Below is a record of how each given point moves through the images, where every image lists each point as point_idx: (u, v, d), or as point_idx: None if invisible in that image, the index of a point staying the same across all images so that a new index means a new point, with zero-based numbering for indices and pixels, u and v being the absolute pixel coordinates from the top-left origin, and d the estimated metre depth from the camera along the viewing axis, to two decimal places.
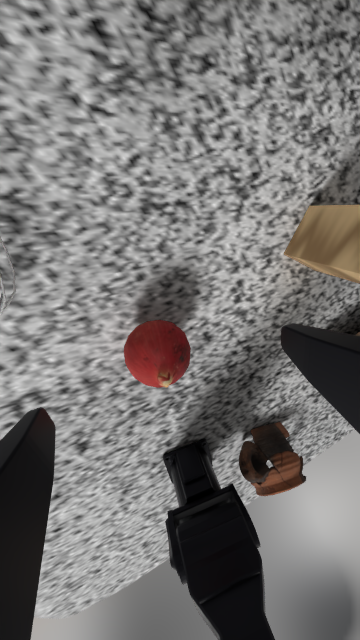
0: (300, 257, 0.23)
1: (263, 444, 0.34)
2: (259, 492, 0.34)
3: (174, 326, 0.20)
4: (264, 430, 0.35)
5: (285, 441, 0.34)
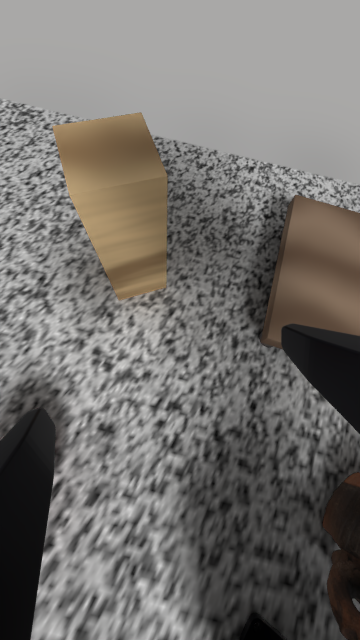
0: (114, 289, 0.22)
1: (350, 538, 0.16)
2: None
3: None
4: (335, 507, 0.18)
5: None
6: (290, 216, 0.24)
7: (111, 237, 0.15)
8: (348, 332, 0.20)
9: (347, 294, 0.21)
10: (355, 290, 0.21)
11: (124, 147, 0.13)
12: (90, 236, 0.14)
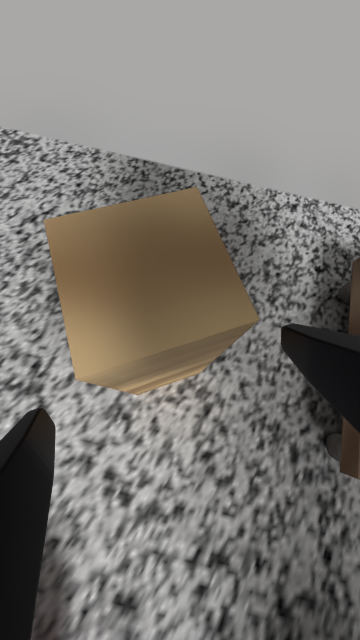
0: (133, 392, 0.16)
1: None
2: None
3: None
4: None
5: None
6: None
7: (141, 377, 0.09)
8: None
9: None
10: None
11: (173, 260, 0.07)
12: (109, 386, 0.09)
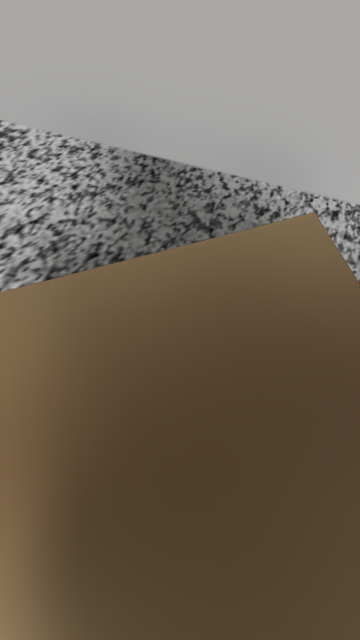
0: None
1: None
2: None
3: None
4: None
5: None
6: None
7: None
8: None
9: None
10: None
11: (297, 409, 0.03)
12: None
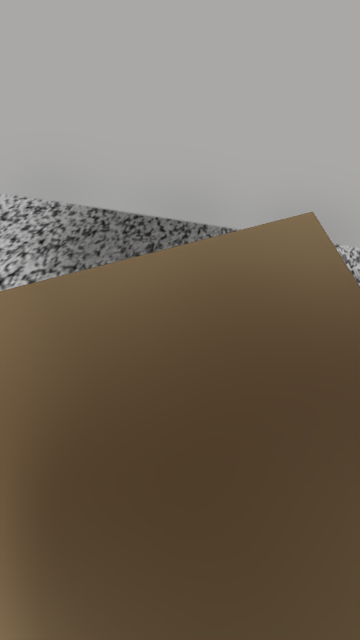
0: None
1: None
2: None
3: None
4: None
5: None
6: None
7: None
8: None
9: None
10: None
11: (296, 408, 0.03)
12: None
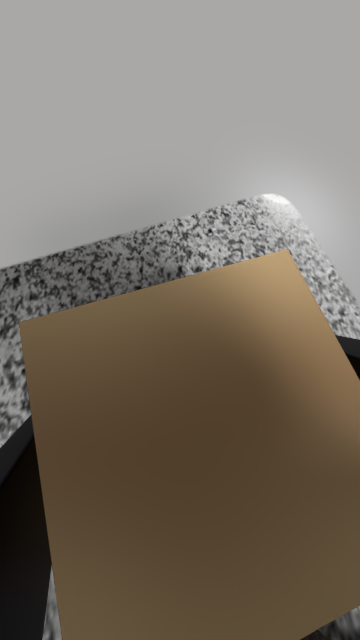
0: None
1: None
2: None
3: None
4: None
5: None
6: None
7: None
8: None
9: None
10: None
11: (266, 407, 0.04)
12: None
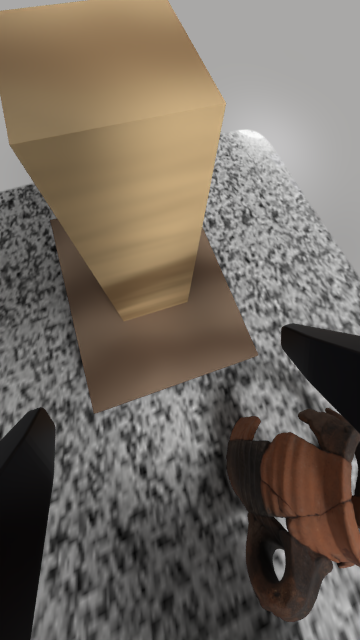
0: (116, 309, 0.15)
1: (247, 499, 0.16)
2: None
3: None
4: (231, 472, 0.17)
5: (249, 448, 0.16)
6: None
7: (109, 237, 0.09)
8: (175, 344, 0.17)
9: None
10: None
11: (131, 50, 0.06)
12: (71, 236, 0.08)
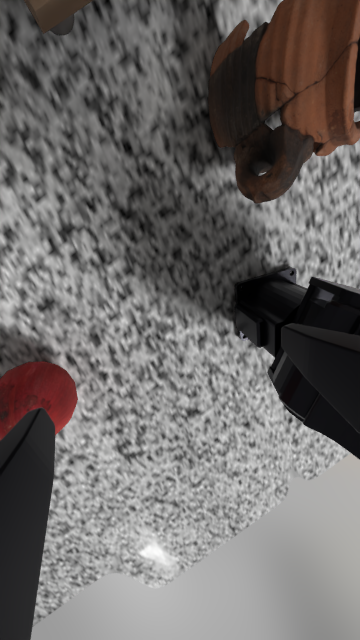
0: None
1: (236, 128, 0.15)
2: (345, 143, 0.15)
3: None
4: (216, 115, 0.16)
5: (240, 54, 0.13)
6: None
7: None
8: None
9: None
10: None
11: None
12: None
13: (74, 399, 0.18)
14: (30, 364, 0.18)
